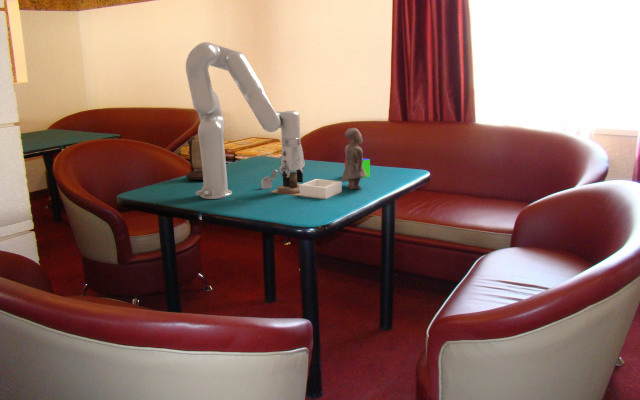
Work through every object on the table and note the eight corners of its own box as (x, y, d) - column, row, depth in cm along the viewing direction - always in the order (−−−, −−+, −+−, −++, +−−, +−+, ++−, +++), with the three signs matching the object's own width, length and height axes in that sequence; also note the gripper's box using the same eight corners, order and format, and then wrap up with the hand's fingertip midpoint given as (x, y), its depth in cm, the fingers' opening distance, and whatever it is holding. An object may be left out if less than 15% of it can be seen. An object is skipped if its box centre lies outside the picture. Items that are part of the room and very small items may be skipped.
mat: (297, 197, 222) (297, 195, 222) (269, 193, 229) (269, 192, 229) (317, 189, 233) (317, 188, 233) (289, 186, 241) (289, 185, 241)
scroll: (180, 182, 257) (176, 138, 252) (195, 175, 271) (191, 133, 266) (210, 182, 254) (206, 138, 249) (223, 175, 268) (220, 133, 263)
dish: (325, 200, 215) (325, 187, 214) (299, 197, 222) (299, 184, 220) (341, 193, 225) (341, 181, 224) (316, 190, 231) (316, 178, 230)
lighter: (263, 190, 236) (262, 171, 234) (261, 189, 237) (260, 170, 235) (278, 188, 238) (277, 169, 237) (277, 187, 240) (276, 168, 238)
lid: (297, 195, 223) (296, 177, 221) (271, 191, 229) (270, 174, 228) (315, 188, 233) (314, 171, 231) (289, 185, 240) (289, 168, 238)
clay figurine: (372, 189, 229) (371, 128, 223) (350, 193, 225) (349, 130, 219) (357, 184, 241) (356, 125, 234) (336, 186, 237) (334, 127, 231)
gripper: (286, 145, 217) (288, 189, 222) (310, 139, 231) (312, 180, 236) (270, 144, 221) (273, 188, 226) (296, 138, 235) (297, 179, 240)
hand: (293, 184), depth 231 cm, fingers open, 8 cm apart
